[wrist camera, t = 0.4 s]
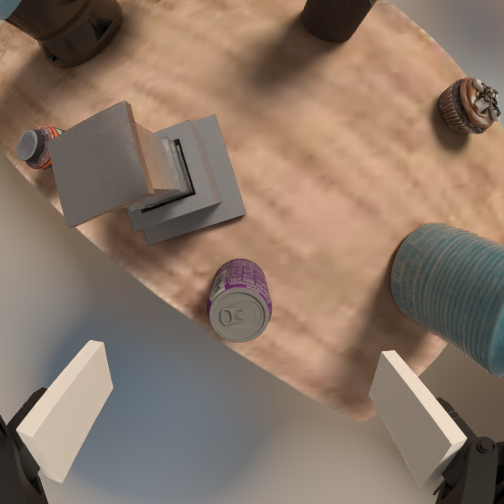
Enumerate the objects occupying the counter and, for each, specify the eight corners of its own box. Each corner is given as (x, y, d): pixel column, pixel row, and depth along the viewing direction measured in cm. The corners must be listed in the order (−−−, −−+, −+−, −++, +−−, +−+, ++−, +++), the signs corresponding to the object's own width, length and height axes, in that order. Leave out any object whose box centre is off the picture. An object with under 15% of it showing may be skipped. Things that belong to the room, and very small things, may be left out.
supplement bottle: (51, 167, 37) (6, 164, 26) (61, 131, 36) (18, 119, 25) (79, 174, 38) (34, 172, 26) (89, 136, 36) (47, 123, 25)
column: (153, 167, 36) (47, 142, 13) (192, 152, 36) (124, 100, 13) (165, 206, 37) (67, 228, 15) (205, 193, 37) (149, 193, 14)
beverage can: (217, 306, 42) (208, 347, 30) (213, 258, 41) (201, 285, 29) (266, 304, 42) (274, 344, 30) (264, 256, 41) (273, 281, 29)
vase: (390, 328, 44) (485, 429, 18) (381, 233, 41) (520, 285, 14) (461, 300, 44) (562, 363, 17) (458, 213, 40) (585, 239, 14)
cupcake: (430, 81, 36) (464, 64, 26) (467, 91, 36) (502, 79, 26) (439, 134, 38) (478, 125, 28) (476, 140, 38) (513, 134, 28)
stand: (123, 151, 37) (82, 139, 26) (216, 117, 37) (205, 87, 25) (151, 243, 40) (118, 263, 28) (246, 213, 40) (247, 221, 28)
